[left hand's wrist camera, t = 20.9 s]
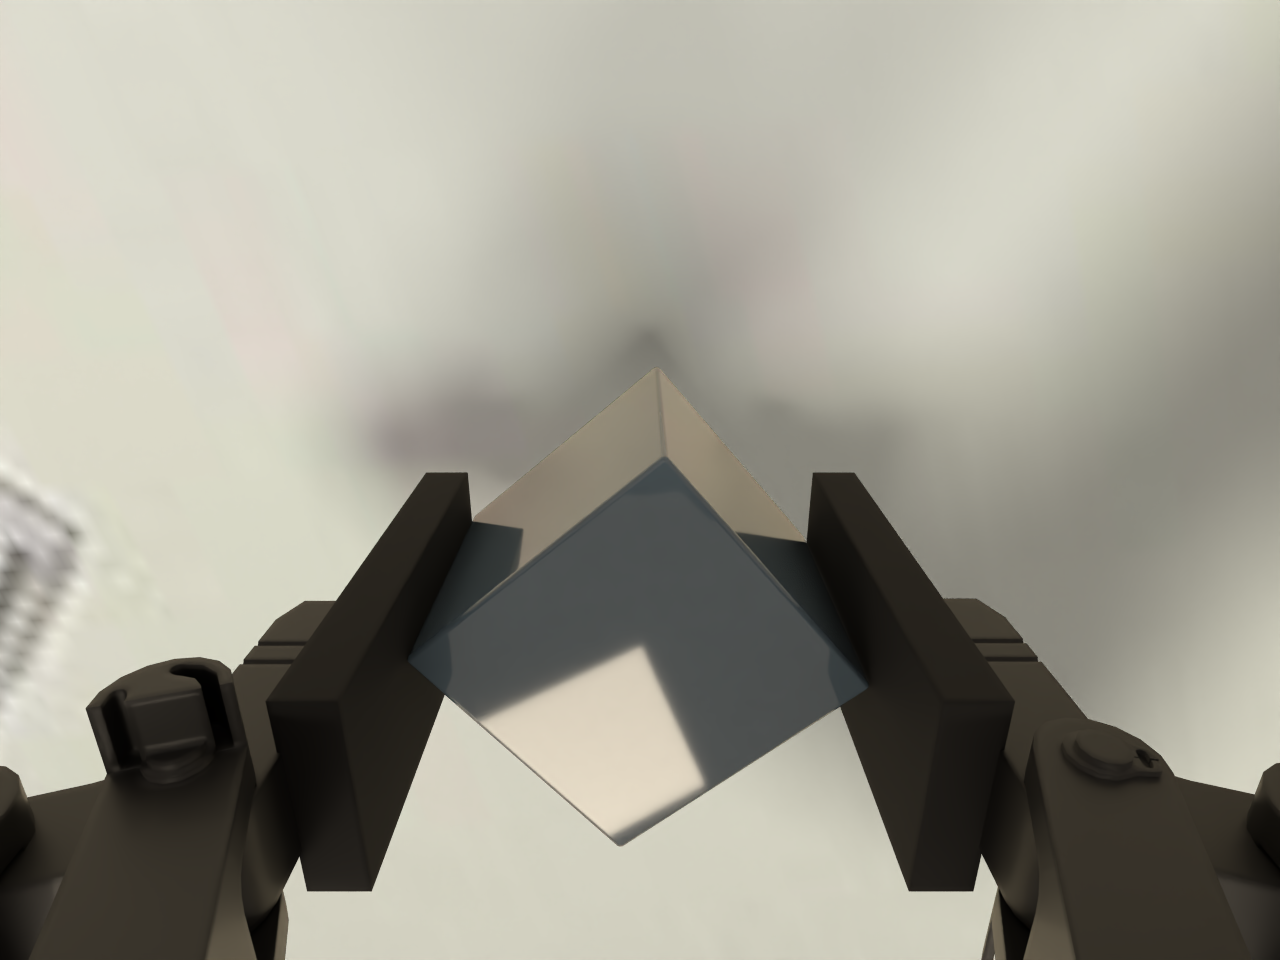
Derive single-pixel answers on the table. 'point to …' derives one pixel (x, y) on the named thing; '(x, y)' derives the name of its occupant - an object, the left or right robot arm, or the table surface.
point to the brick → (637, 617)
